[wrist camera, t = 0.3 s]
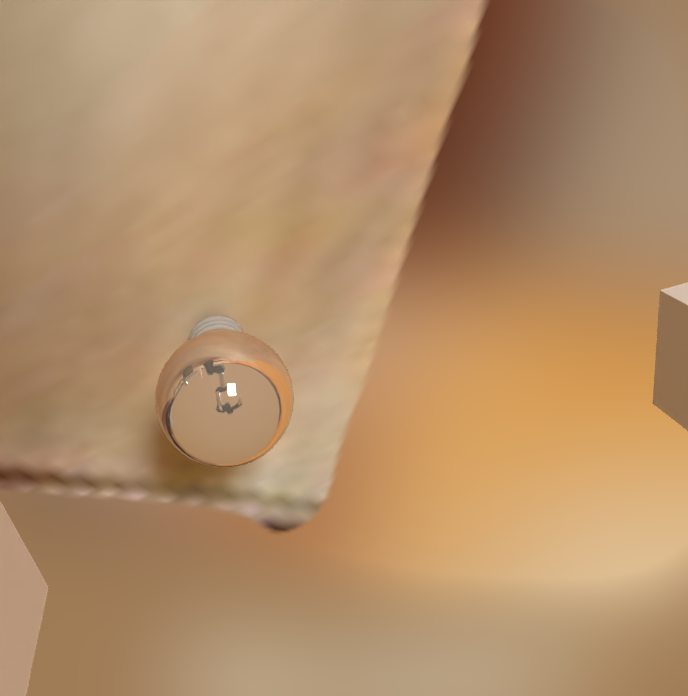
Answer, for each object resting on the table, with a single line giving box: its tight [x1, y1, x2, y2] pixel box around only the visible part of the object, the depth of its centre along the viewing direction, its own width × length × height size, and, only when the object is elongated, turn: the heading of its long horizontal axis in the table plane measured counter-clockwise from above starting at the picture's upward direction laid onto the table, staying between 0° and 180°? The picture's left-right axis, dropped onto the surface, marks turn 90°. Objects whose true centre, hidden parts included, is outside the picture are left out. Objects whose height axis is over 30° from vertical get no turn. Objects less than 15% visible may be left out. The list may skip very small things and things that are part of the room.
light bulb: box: [155, 316, 294, 468], centre depth 35 cm, size 7×7×12 cm
